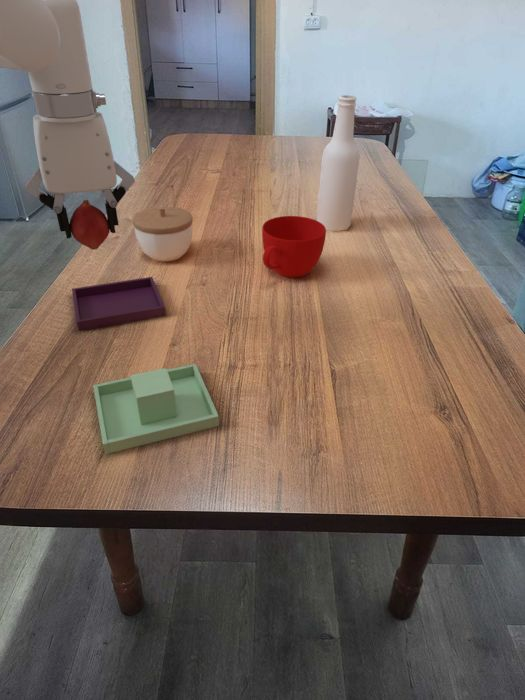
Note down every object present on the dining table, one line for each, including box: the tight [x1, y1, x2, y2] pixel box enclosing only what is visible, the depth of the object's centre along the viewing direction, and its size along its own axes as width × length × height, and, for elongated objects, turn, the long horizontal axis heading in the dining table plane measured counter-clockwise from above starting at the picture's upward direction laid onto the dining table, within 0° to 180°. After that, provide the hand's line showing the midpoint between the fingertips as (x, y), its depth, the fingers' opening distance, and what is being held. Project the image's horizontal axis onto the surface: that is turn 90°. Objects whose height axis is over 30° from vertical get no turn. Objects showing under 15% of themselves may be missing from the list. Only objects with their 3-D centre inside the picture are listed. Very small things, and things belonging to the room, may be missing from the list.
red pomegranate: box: [69, 199, 110, 251], centre depth 76 cm, size 6×6×8 cm
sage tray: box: [92, 363, 220, 455], centre depth 69 cm, size 15×12×2 cm
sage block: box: [130, 367, 177, 425], centre depth 68 cm, size 5×5×5 cm
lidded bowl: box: [132, 206, 194, 263], centre depth 107 cm, size 13×13×11 cm
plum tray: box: [71, 276, 167, 332], centre depth 91 cm, size 15×12×2 cm
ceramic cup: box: [261, 215, 327, 279], centre depth 101 cm, size 13×17×10 cm
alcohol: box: [315, 94, 360, 232], centre depth 117 cm, size 9×9×30 cm
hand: (90, 231), depth 76 cm, fingers closed on red pomegranate, 5 cm apart
